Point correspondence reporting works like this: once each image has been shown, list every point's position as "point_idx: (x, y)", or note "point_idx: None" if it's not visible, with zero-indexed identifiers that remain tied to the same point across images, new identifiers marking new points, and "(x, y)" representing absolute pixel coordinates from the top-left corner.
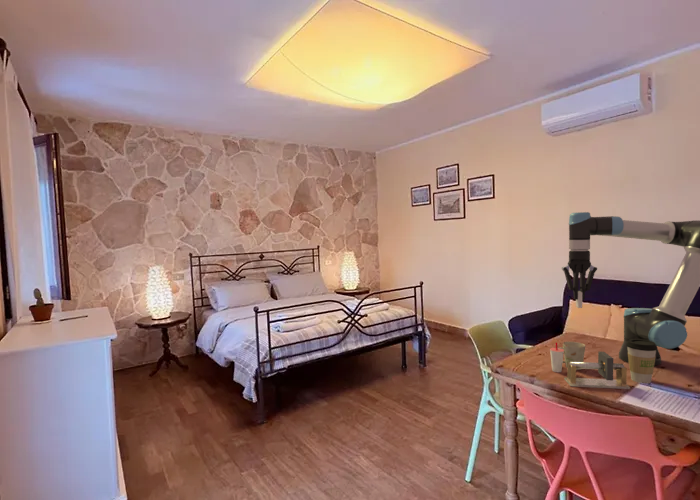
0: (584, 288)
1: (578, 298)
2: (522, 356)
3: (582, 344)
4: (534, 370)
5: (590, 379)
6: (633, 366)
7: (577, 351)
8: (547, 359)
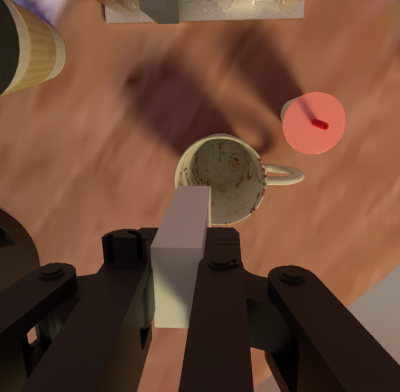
0: (106, 278)
1: (204, 216)
2: (367, 263)
3: None
4: (379, 108)
5: (213, 8)
6: (41, 25)
7: (220, 134)
8: (285, 238)
